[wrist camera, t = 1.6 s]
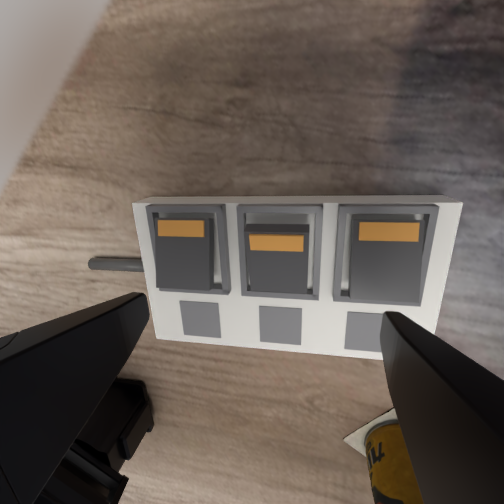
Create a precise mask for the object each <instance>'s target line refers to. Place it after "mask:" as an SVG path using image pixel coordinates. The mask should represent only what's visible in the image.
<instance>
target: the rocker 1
mask: <svg viewBox="0 0 504 504" xmlns="http://www.w3.org/2000/svg"><path fill="white" fill-rule="evenodd" d="M155 260H156V288H169V289H187V290H204V291H210V290H211V289H213V288H214V218H155Z"/></svg>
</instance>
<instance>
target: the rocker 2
mask: <svg viewBox="0 0 504 504" xmlns="http://www.w3.org/2000/svg"><path fill="white" fill-rule="evenodd" d="M424 224H425V220H367V219H353V220H351V239H350V261H349V283H348V296H349V298H350V299H360V300H378V301H395V302H413V303H419V296H420V282H421V267H422V253H423V239H424Z"/></svg>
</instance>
